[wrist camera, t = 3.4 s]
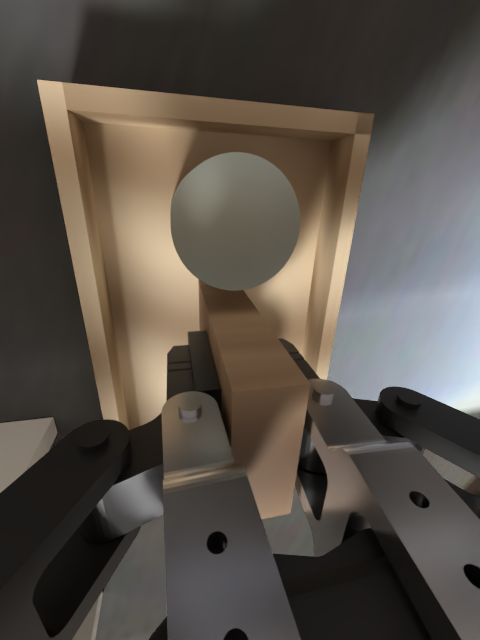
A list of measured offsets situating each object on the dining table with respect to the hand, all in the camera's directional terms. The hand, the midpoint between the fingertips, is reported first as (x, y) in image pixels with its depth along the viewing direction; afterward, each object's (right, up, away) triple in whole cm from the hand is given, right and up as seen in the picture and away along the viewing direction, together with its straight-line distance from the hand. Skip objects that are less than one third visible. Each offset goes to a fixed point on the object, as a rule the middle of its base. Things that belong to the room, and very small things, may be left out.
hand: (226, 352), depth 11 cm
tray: (-1, +1, +3) cm, 4 cm away
